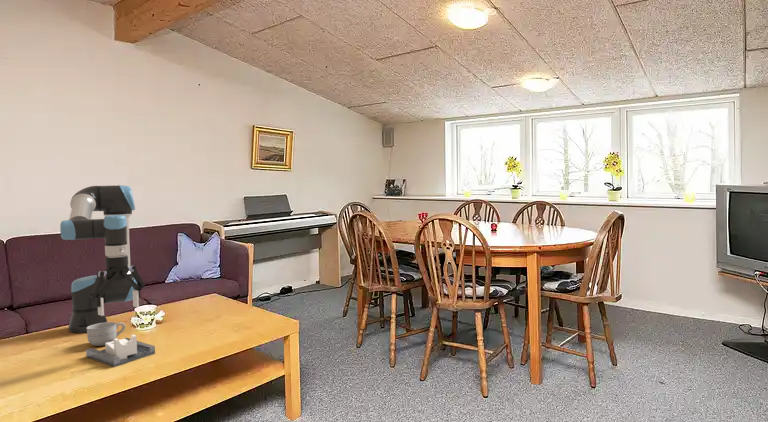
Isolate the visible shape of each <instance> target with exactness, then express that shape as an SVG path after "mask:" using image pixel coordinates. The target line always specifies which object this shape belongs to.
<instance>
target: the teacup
mask: <svg viewBox="0 0 768 422" xmlns="http://www.w3.org/2000/svg"><path fill="white" fill-rule="evenodd" d="M120 325H121V326H122V328H121V329H120V330H119V331H118V330H117V329H118V327H119V326H120ZM86 329H87V332H86V336H87V342H88V343H89V344H91V345H93V346H94V347H103V346H105V343H107V342H112V341H114V339H115V338H117V337H119V335H120V334H121V333H123V332H124V331H125V329H126V325H125V323H124V322H121V321H120V322H117V323H116V322H113V321H107V322H105V323H98V324H94V325H91V326H88V327H87V328H86ZM117 331H118V332H117Z"/></svg>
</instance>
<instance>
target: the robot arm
mask: <svg viewBox="0 0 768 422" xmlns="http://www.w3.org/2000/svg"><path fill="white" fill-rule="evenodd" d="M132 190H133V189H132V187H131V186H129V185H119V184H118V185H91V186H87V187H84V188H82V189H80V190H79V191H77V192H76V193H74V195H72V197H71V199H70V203H69V204H70V208H71V210H70V215H69V219H67V220H61V221H60V228H59V229H60V231H59V232H60V237H61V239H62V240H64V241H68V240H69V241H70V240H71V241H74V240H75V241H77V240H78V241H79V240H90V239H104V255H105V268H106V269H105V270H104V271H103V270H98V271H97V273H96V274H95V275H94V274H93V275H88V276H84V277H80V278H77V279H74V280H73V281H72V283H71V291H70V293H71V307H72V314H71V317H70V320H69V323H68V332H69V333H73V334H74V333H75V334H76V333H77V334H80V333H87V329H86V328H87V327H88V326H91V325H94V324H98V323H105V322H108V320H107V319H108V318H107V317H106V314H105V305H104V304H112V303H121V302H123V303H125V302H129V301H132V306H133V307H134V308H139V307H140V304H139V303H140V300H139V299H140V298H141V291H142V290H143V288H145V287H146V285H145V283H144V282H143V280H142V278H141V276H140V274H139V272H138V270H137V266H136V265H131V251H130V250H131V249H130V245H131V244H130V243H131V242H130V225H129V224H130V223H129V222H130V220H129V218H130V217H131V216H132V214H133V211H135V210H136V207H135V200H134V195H133V191H132ZM93 212H103V216H104V217H103V218H97V219H96V218H95V219H94V218H93V219H92V217H93Z"/></svg>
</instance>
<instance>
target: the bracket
mask: <svg viewBox="0 0 768 422" xmlns="http://www.w3.org/2000/svg"><path fill="white" fill-rule="evenodd" d="M129 339H130V340H129V341H128V340H126V339H124V338H122V339H119V338H117V337H116V338H115V339H114V340H113V341H112V342H107V343H105V345H104V346H105V349H106V352H107V353H108V354H111V355H114V356H117V357H119V360H121V359H125V358H127V355H131V354H135V353H137V341H138V339H137V335H135V334H131V336H130V338H129Z"/></svg>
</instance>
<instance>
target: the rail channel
mask: <svg viewBox="0 0 768 422" xmlns="http://www.w3.org/2000/svg"><path fill="white" fill-rule="evenodd" d="M123 339H126V340H128V341H129V340H130V339H131V338H128V337H125V338H123ZM155 347H156V346H155V345H154V344H153V345H152V344H149V343H145V342H142V341H139V340H137V353H135V354H131V355H127V358H125V359H121V360H119V357H117V356H114V355H111V354H108V353H107V352H106V348H104V349H100V350H99V349H97V348H96V349H95V348H93V347H90V348H87V349H85V353H86V354H85V355H86V357H85V358H88V359H91V360H93V361H96V362H98V361H99V363H101V362H102V363H101V364H104V363H105V365H107V364H108V366H110V367H113V368H116V367H119V366H122V365H125V364H127V363H130V362H134V361H137V360H139V359H142V358H146V357H148V356H152V355H154V354H156V348H155Z"/></svg>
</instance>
